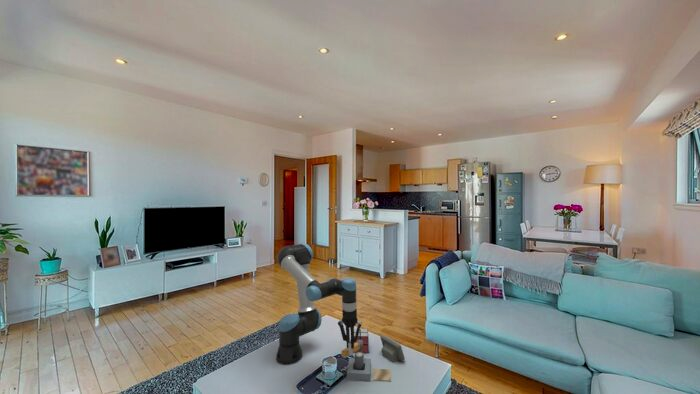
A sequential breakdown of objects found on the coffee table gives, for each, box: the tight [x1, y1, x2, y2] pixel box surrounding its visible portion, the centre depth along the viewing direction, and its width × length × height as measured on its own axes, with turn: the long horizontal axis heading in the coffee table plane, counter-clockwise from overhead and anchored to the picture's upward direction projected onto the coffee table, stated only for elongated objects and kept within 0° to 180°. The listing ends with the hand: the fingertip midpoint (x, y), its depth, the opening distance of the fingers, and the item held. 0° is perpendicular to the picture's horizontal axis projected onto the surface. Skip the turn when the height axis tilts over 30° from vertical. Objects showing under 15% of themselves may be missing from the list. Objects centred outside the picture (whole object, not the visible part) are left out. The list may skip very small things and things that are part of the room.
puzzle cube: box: [353, 328, 370, 354], centre depth 169 cm, size 10×10×10 cm
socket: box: [346, 349, 372, 382], centre depth 146 cm, size 12×14×10 cm
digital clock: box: [379, 334, 406, 363], centre depth 160 cm, size 16×9×11 cm, turn 25°
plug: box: [354, 352, 365, 370], centre depth 146 cm, size 5×5×10 cm
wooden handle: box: [340, 340, 363, 359], centre depth 147 cm, size 4×15×3 cm, turn 137°
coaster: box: [372, 368, 392, 382], centre depth 143 cm, size 9×9×1 cm
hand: (350, 354), depth 143 cm, fingers closed
